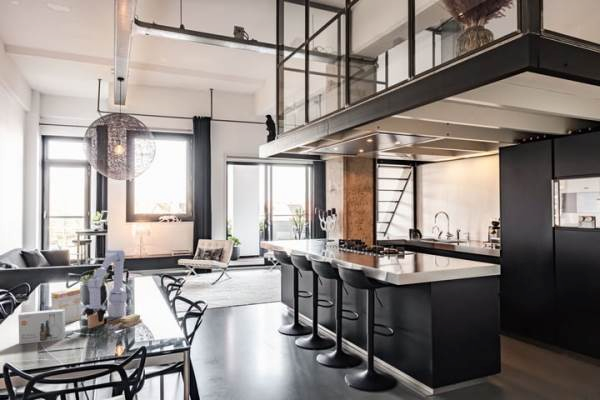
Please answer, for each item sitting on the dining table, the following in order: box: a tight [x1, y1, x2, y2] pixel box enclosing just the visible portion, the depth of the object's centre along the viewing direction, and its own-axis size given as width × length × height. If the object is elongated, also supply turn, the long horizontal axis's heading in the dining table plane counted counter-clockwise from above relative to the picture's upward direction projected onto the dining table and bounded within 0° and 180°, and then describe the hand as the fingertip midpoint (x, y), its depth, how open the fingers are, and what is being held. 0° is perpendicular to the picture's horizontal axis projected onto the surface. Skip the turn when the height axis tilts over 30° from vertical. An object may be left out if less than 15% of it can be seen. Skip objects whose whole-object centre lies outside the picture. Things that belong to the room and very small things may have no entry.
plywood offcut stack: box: [119, 313, 143, 328], centre depth 245 cm, size 7×11×4 cm, turn 160°
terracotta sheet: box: [87, 312, 105, 329], centre depth 244 cm, size 2×10×8 cm, turn 160°
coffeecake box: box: [50, 288, 82, 325], centre depth 259 cm, size 15×7×20 cm, turn 149°
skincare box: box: [18, 309, 66, 345], centre depth 222 cm, size 21×6×16 cm, turn 106°
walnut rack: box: [105, 317, 143, 328], centre depth 247 cm, size 19×12×2 cm, turn 70°
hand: (95, 321), depth 244 cm, fingers open, 7 cm apart
